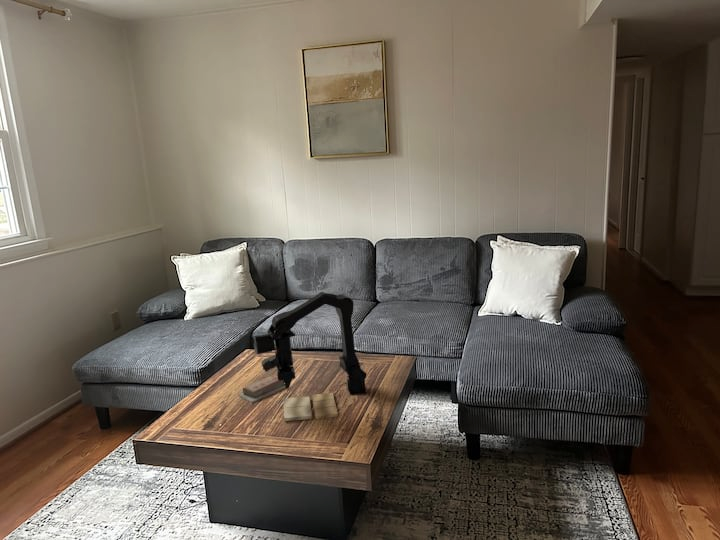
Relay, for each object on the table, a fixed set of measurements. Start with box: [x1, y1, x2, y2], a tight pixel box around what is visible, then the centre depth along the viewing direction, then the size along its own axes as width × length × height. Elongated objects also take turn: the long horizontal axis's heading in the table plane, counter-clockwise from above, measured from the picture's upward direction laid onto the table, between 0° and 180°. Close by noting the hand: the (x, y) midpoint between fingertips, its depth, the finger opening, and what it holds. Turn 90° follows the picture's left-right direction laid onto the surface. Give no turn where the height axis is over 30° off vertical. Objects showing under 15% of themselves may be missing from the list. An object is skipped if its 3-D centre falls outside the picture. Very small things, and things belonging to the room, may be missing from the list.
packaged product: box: [237, 373, 287, 404], centre depth 216 cm, size 18×5×10 cm
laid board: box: [311, 392, 339, 420], centre depth 199 cm, size 8×18×1 cm, turn 9°
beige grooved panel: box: [282, 396, 313, 422], centre depth 198 cm, size 10×16×1 cm, turn 9°
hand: (287, 387), depth 199 cm, fingers closed
